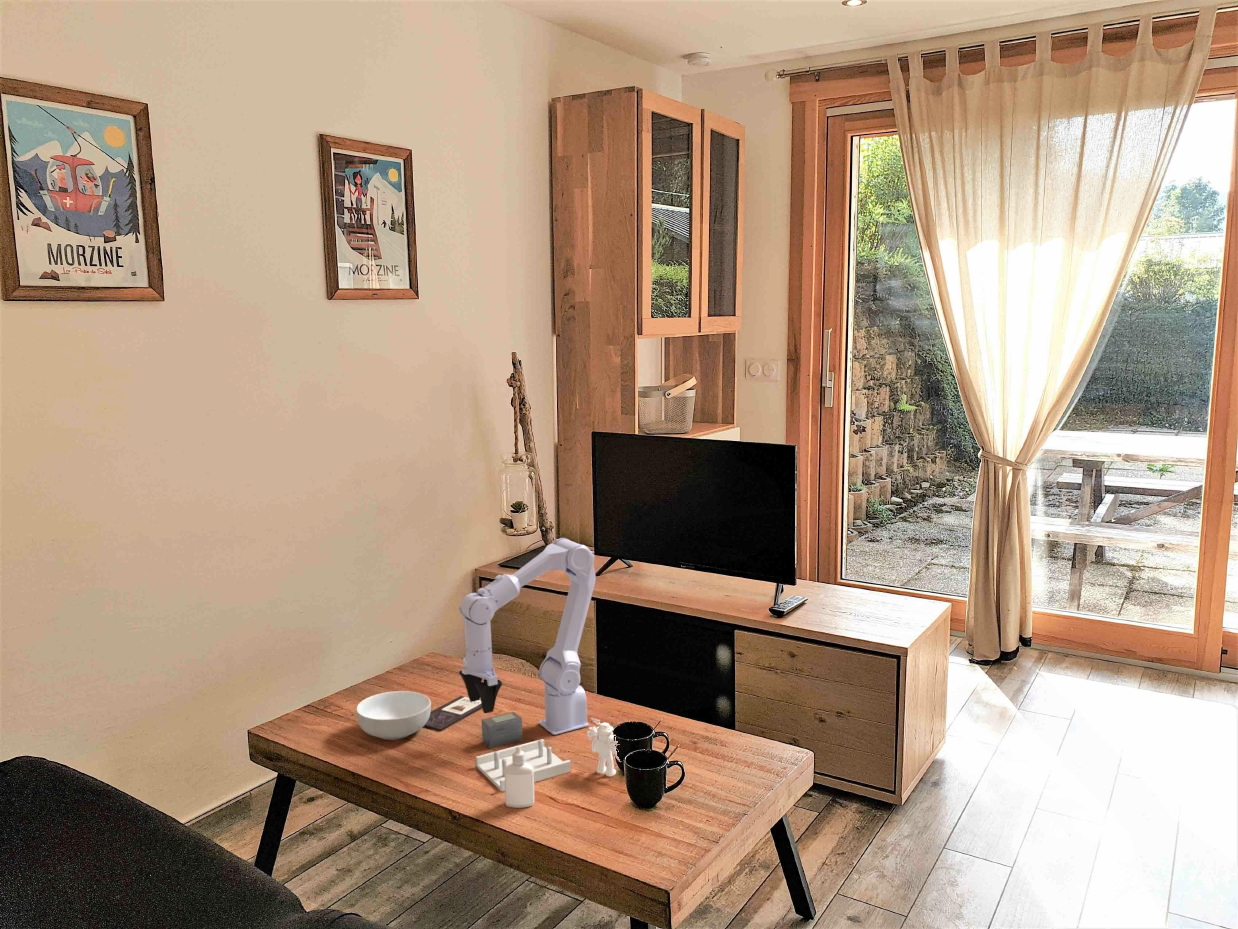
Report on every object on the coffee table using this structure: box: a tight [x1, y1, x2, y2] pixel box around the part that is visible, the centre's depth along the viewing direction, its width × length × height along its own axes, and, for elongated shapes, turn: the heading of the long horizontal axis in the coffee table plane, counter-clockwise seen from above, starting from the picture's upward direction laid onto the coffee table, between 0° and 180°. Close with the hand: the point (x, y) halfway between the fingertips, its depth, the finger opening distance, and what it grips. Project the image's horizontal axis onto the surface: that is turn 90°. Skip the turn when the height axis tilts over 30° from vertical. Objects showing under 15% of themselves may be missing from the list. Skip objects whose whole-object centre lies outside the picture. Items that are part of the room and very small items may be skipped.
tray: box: [475, 738, 572, 793], centre depth 203 cm, size 16×13×4 cm
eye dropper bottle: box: [504, 745, 535, 809], centre depth 187 cm, size 4×6×12 cm
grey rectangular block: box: [481, 711, 523, 750], centre depth 216 cm, size 8×4×6 cm, turn 121°
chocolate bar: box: [422, 695, 483, 732], centre depth 232 cm, size 9×1×18 cm
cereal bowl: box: [355, 690, 432, 741], centre depth 222 cm, size 17×17×7 cm
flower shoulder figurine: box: [586, 717, 621, 777], centre depth 200 cm, size 9×4×12 cm, turn 52°
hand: (481, 706), depth 213 cm, fingers open, 7 cm apart
